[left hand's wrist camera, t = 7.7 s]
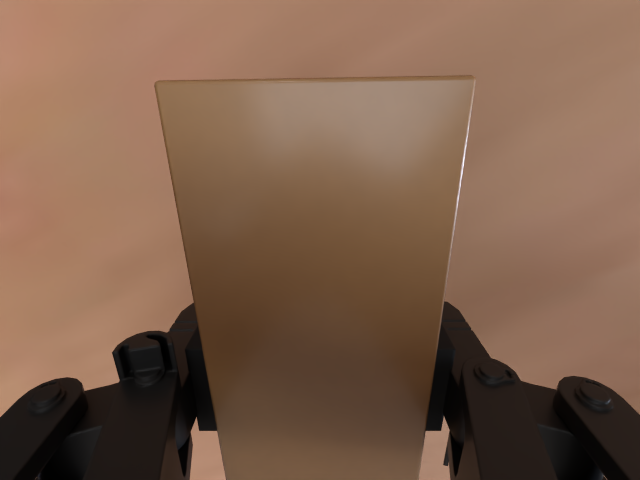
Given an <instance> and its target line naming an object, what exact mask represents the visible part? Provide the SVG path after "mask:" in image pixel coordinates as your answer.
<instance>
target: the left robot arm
mask: <svg viewBox="0 0 640 480" xmlns="http://www.w3.org/2000/svg"><path fill="white" fill-rule="evenodd" d="M112 354H113V358H114V361H115V365H116V368H117V372H118V376H119V379H120V381H119V383H115V384H112V385H108V386H104V387H100V388H95V389H91V390H87V391H84V388H83V385H82V383H81V382H80V381H79V380H77V379H75V378H68V377H66V378H59V379H54V380H51V381H48V382H45V383H43V384H41V385H39V386H37V387H35V388H33V389H31V390H30V391H28V392H27V393H26V394H24V395H23V396H22V397H21V398H19V399H18V400H17V401H16V402H15V403H14V404H13V405H12V406H11V407H10V408H9V409H8V410H7V411H6V412H5V413H4V414H3V415H2V416H1V417H0V480H190V469H191V458H192V447H193V444H192V437H191V429H192V427H193V424H194V422H195V419H196V417H197V421H198V426H199V431H217V426H216V421H215V415H214V410H213V404H212V399H211V393H210V388H209V382H208V377H207V371H206V366H205V361H204V355H203V350H202V344H201V339H200V333H199V328H198V322H197V317H196V311H195V306H194V303H192V304H191V305H190V306H188V307H187V308H186V309H184V310H183V311H182V312H181V313H180V315H179V316H178V318H177V319H176V321H175V323H174V324H173V325H172V327H171V328H170V331H169V332H168V333H166V332H162V331H147V332H143V333H139V334H136V335H134V336H132V337H129V338H127V339H125V340H124V341H123V342H121V343H120V344H119V345H117V347H116V348H115V349H114V351H113V352H112ZM443 417H445V419H446V422H447V424H448V427H449V429H450V432H449V437H448V442H447V447H446V453H445V458H444V464H443V465H446V466H448V463H449V468H450V479H451V480H606V479H607V480H640V415H639V414H638V413H637V412H636V411H635V410H634V409H633V408H632V407H631V406H630V405H629V404H628V403H627V402H626V401H625V400H624V399H623V398H622V397H621V396H620V395H618V394H617V393H616V392H615V391H613V390H612V389H610V388H608V387H607V386H605V385H603V384H601V383H599V382H597V381H594V380H591V379H588V378H584V377H577V376H570V377H564V378H563V379H562V380H561V381H559V383H558V386H557V389H556V390H555V389H551V388H547V387H542V386H538V385H534V384H530V383H526V382H523V381H521V380H520V379H519V377H518V376H517V374H516V372H515V371H513V370H512V369H511V368H510V367H509V366H507V365H506V364H504V363H502V362H500V361H498V360H495V359H492V358H491V357H490V356H489V354H488V353H487V352H486V350H485V349H484V347H483V346H482V344H481V343H480V341H479V340H478V338H477V337H476V335H475V334H474V332H473V331H472V330H471V328H470V326H469V325H468V323H467V322H466V321H465V319H464V317H463V316H462V314H461V313H460V311H459V310H458V309H456V308H455V307H454V306H452V305H451V304H449V303H448V302H444V306H443V313H442V319H441V326H440V333H439V340H438V347H437V354H436V361H435V368H434V375H433V382H432V389H431V396H430V403H429V410H428V417H427V424H426V431H441V428H442V422H443ZM604 476H605V477H606V478H605V477H604ZM36 477H37V478H36Z"/></svg>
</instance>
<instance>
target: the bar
mask: <svg viewBox="0 0 640 480" xmlns="http://www.w3.org/2000/svg"><path fill="white" fill-rule="evenodd" d="M475 83H476V78H475V77H474V76H472V75H468V76H408V77H348V78H289V79H229V80H170V81H157V82H155V91H156V97H157V102H158V108H159V113H160V119H161V124H162V130H163V135H164V141H165V146H166V152H167V157H168V163H169V168H170V174H171V179H172V185H173V190H174V196H175V201H176V207H177V212H178V218H179V223H180V229H181V234H182V240H183V245H184V251H185V256H186V262H187V267H188V273H189V278H190V284H191V289H192V295H193V300H194V306H195V311H196V317H197V322H198V328H199V333H200V339H201V344H202V350H203V355H204V361H205V366H206V371H207V377H208V382H209V388H210V393H211V399H212V404H213V410H214V415H215V421H216V426H217V432H218V437H219V443H220V448H221V454H222V459H223V465H224V470H225V476H226V480H418V479H419V472H420V465H421V458H422V452H423V445H424V438H425V431H426V424H427V417H428V410H429V403H430V396H431V389H432V382H433V375H434V368H435V361H436V354H437V347H438V340H439V333H440V326H441V319H442V313H443V306H444V299H445V292H446V285H447V278H448V271H449V264H450V257H451V250H452V243H453V236H454V229H455V222H456V215H457V208H458V201H459V194H460V187H461V180H462V173H463V167H464V160H465V153H466V146H467V139H468V132H469V125H470V118H471V111H472V104H473V97H474V90H475Z"/></svg>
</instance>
